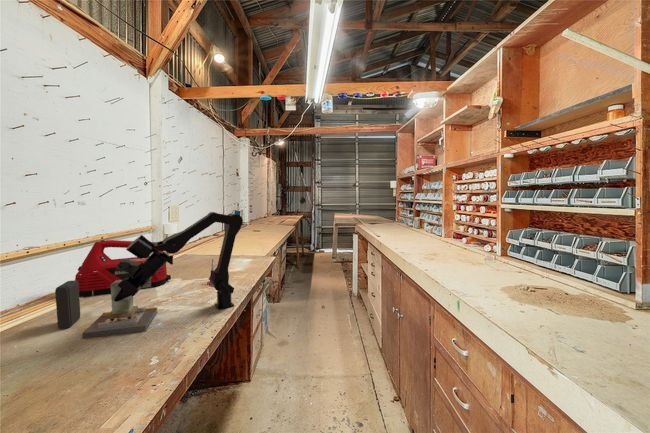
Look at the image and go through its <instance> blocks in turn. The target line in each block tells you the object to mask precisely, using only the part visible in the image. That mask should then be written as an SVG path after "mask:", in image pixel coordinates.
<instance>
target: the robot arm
mask: <svg viewBox="0 0 650 433" xmlns="http://www.w3.org/2000/svg"><path fill="white" fill-rule="evenodd" d="M215 223H218V224H219V223H220V224H223V229H224V234H223V235H224V236H223V241H222V244H221V248H220V252H219V258H218V261H217V266H216V268H214V270H212V269H211V270H210V274H209V277H208V280H209V281H210V284H211V285H212V288H214V289H215V290H216V291H217V292H216V299H217V300H216V303H214V306H215V307H216V308H217V310H223V309H227V308H232V307H235V303H233V302H232V294H234V290H235V287H234V286H232V285H231V284H230V281H229V279H230V275H229V266H230V264H231V263H230V262H231V257H232V253H233V249H234V245H235V240H236V237H237V235H238V233H239V232H240V231H241V228H242V225H243V223H244V220H243V217H242V216H241V215H240V214H237V213H228V214H222V213H218V212H215V211H210V212H208V213H207V214H206V215H205V216H203V217H202V218H200V219H199V220H197V221H195V222H194V223H193V224H191V225H189V226H188V227H187V228H185V229H183V230H182V231H179V232H176V233H174V234H171V235H169V236H167V237H165V238H164V239H163V240H160V241H156V242H155V243H152V242H153V241H150V240H149V239H147V238H146V237H145V236H144V235H142V234H140V235H139V236H138V237H137V238H136V239H134V240H132V241H133V242H132V243H131V244H130V245H129V246H128V247H127V248H125V250H126V251H127V252H129V253H130V254H132V255H134V256H135V257H138V258H140V259H142V258H147V257H148V256H149V257H148V258H147V259H146V260H145V261H144V262H142V263H141V264H139V263H137V262H134V261H131V260H128V259H122V258H121V259H122V260H121V261H120V263H119V264H118V265H117V266H118V267H117V270H119V271H124V272H128V273H130V274H129V278H125V279H123V280H122V281H121V282H120V283H119V284H118V287H120V288H121V290H120V292H119V293H118V295H117V296H116V298H115V299H114V301H116V302H118V301H120V300H122V299H124V298H127V297H129V296H133V297H134V296H135V295H136V294H137V293H138V292H139V291H140V289H141V287H142V286H143V285H144V284H145V283H147V282H148V281H149V280H150V279H151V278H152V276H153V275H154V274H155V273H156V272H157V271H158V270H159V269H160V268H161V267H162V266H163V265H164V264H165V263H166V264H167V263H168V264H169V265H171V266H173V264H174V255H175V254H176V253H179V251H181V249H183V247H185V246H186V245H187V243H188V242H189V241H190V240H191V239H193V238H194V237H196V236H197V235H198V234H200V233H202V232H203V231H205V230H206V229H208V228H209V227H210V226H212V225H213V224H215ZM154 248H156V249H157V250H159V251H163V252H159V251H157V250H156V249H154ZM167 253H168V254H167ZM169 254H171V255H169ZM210 284H209V285H210ZM211 285H210V286H211ZM141 290H142V289H141Z"/></svg>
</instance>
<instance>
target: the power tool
mask: <svg viewBox="0 0 650 433" xmlns="http://www.w3.org/2000/svg"><path fill="white" fill-rule="evenodd" d="M133 241H134V240H116V239H115V240H114V239H108V240H106V239H105V240H104V239H102V240H101V239H100V240H99V241H95V242H94V243H93V244H92V245H93V246H92V247H91V249H90V250H89V252H88V254H87V256H86V257H85V258H84V261H83V262H82V264H81V266H79V267H78V268H77V271H78V272H77V273H76V274H75V278H74V280H76V281H78V283H79V298H80V297H81V298H82V297H83V298H90V297H98V296H105V295H111V284H112V283H113V282H115V281H116V280H123V279H125V278H129V274H130V273H128V272H124V271H119V270H117V267H118V266H117V265H118V264H119V263H120V261H121V260H122V259H128V260H131V261H134V262H137V263H139V264H141V263H142V262H144V261H145V260H146V259H147V258H148V257H149V256H150V255H149V256H148V257H147V258H142V259H140V258H138V257H137V256H135V257H133V256H132V257H125V258H115V259H112V258H110V256H108V255H107V254H106V253H105V252H104V251H105V248H106V249H107V248H118V249H119V248H122V249H127V247H128V246H129V245H130V244H131V243H132V242H133ZM151 242H152V243H156V242H154V241H151ZM154 249H156V248H154ZM156 250H157V249H156ZM157 251H159V250H157ZM159 252H164V251H159ZM167 271H168V270H167V262H166V263H165V264H164V265H163V266H162V267H161V268H160V269H159V270H158V271H157V272H156V273H155V274H154V275H153V276H152V278H151V279H150V280H149V281H148V282H147V283H145V284H144V285H143V286H142V287H141V289H140V290H147V289H155V288H159V287H162V286H164V285H166V283H167V282H169V281H170V280H171V278H172V277H171V274H168V273H167ZM140 290H139V291H140Z"/></svg>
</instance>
